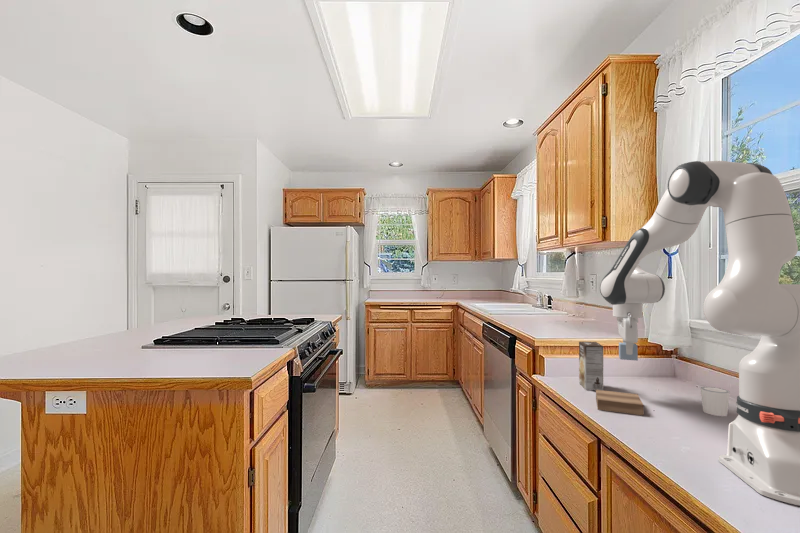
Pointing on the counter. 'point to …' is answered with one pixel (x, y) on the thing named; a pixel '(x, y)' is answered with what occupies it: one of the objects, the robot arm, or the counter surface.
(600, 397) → the walnut plinth
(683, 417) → the counter surface
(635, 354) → the slate block
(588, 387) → the coffee box
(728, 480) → the counter surface
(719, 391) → the white cup
